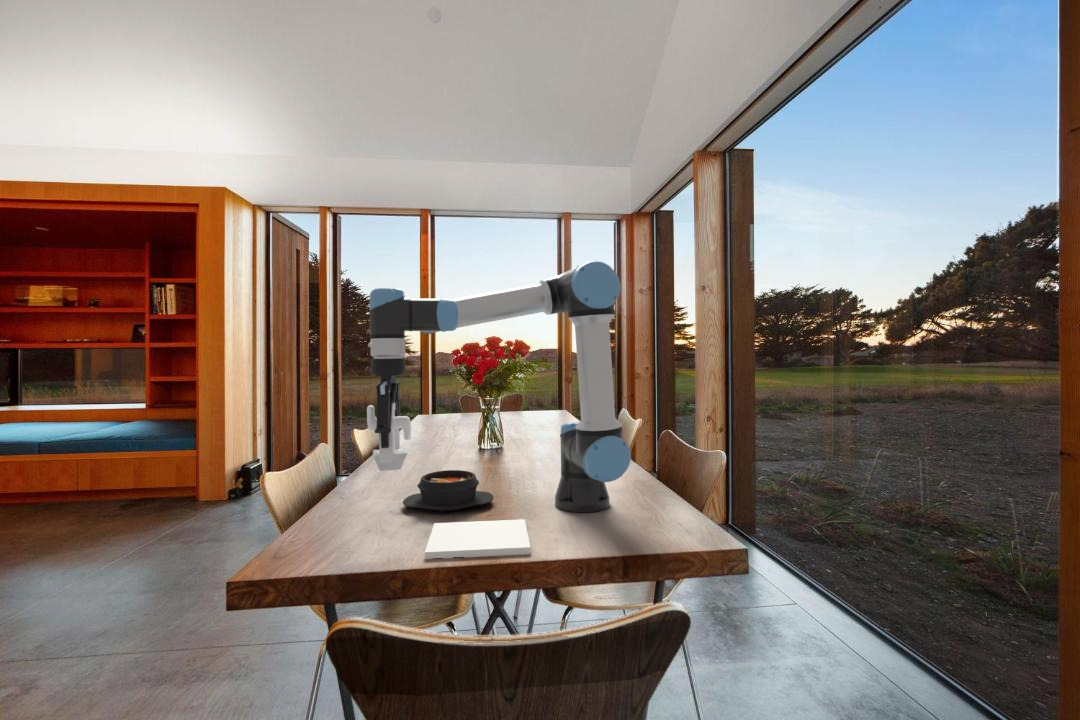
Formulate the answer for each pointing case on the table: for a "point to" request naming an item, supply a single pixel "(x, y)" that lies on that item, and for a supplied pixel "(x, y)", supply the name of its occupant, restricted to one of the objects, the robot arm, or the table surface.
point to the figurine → (396, 423)
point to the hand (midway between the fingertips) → (390, 458)
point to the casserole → (448, 491)
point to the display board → (478, 539)
